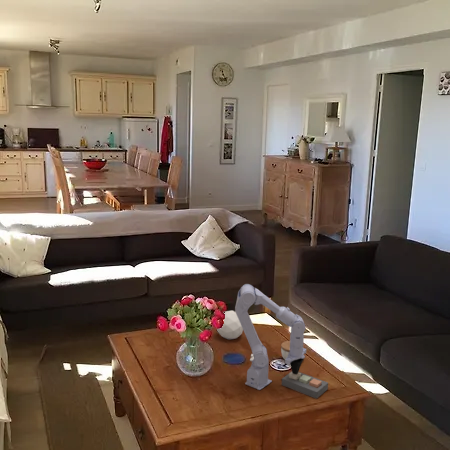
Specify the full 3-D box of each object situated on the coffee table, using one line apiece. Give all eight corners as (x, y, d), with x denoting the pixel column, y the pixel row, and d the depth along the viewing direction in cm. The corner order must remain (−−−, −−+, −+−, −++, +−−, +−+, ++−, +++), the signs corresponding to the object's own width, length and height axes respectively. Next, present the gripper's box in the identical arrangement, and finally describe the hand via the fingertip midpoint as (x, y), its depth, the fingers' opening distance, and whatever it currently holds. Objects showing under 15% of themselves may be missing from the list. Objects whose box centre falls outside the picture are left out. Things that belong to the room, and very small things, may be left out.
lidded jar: (295, 368, 235) (296, 349, 233) (276, 361, 242) (276, 342, 240) (307, 359, 244) (308, 341, 242) (287, 353, 250) (288, 335, 248)
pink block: (316, 390, 213) (317, 385, 212) (308, 387, 215) (309, 382, 215) (321, 387, 216) (321, 381, 215) (313, 384, 218) (313, 378, 218)
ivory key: (296, 381, 219) (296, 376, 218) (288, 379, 221) (289, 373, 221) (300, 378, 222) (301, 373, 221) (293, 375, 224) (293, 370, 224)
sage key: (306, 386, 216) (306, 381, 215) (298, 383, 218) (299, 378, 218) (310, 383, 219) (311, 377, 218) (303, 380, 221) (303, 374, 221)
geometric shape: (231, 349, 264) (226, 335, 253) (213, 331, 273) (208, 316, 262) (251, 332, 268) (248, 317, 257) (233, 315, 277) (229, 300, 266)
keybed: (316, 398, 210) (317, 392, 209) (281, 384, 220) (281, 378, 220) (327, 389, 218) (328, 382, 217) (293, 376, 228) (293, 370, 227)
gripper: (296, 353, 210) (294, 383, 213) (313, 341, 221) (311, 370, 224) (281, 348, 214) (280, 377, 217) (299, 336, 226) (297, 365, 228)
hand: (295, 373), depth 221 cm, fingers closed, pressing on ivory key
